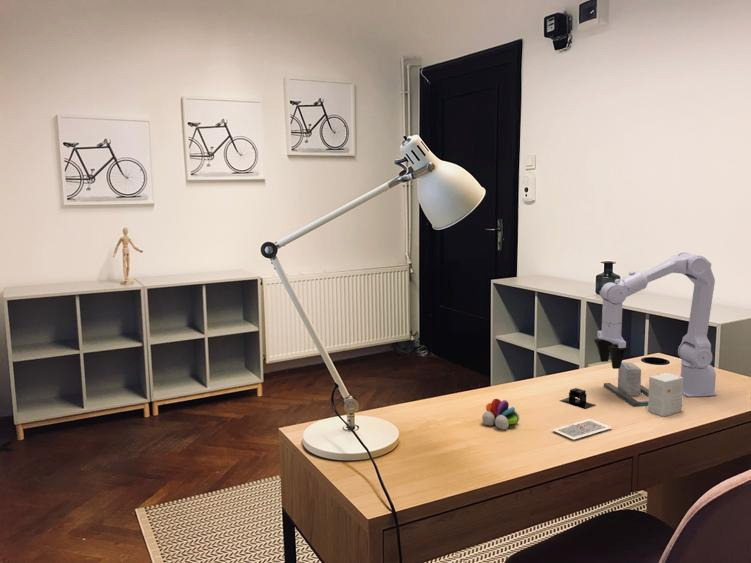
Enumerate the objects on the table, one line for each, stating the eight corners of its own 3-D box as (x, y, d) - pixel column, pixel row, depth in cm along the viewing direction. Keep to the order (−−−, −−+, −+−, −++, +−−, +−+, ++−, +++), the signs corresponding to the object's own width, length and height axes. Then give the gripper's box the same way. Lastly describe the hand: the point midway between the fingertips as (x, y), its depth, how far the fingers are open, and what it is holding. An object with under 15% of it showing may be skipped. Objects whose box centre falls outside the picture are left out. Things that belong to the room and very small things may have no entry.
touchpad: (612, 431, 175) (613, 423, 175) (573, 443, 167) (573, 435, 167) (589, 422, 182) (590, 414, 181) (551, 433, 174) (551, 425, 174)
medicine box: (640, 396, 201) (641, 369, 200) (626, 396, 201) (627, 369, 200) (631, 387, 209) (632, 362, 208) (617, 388, 209) (618, 362, 208)
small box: (665, 406, 192) (667, 372, 190) (682, 412, 187) (684, 377, 185) (646, 411, 188) (648, 376, 187) (663, 417, 183) (665, 381, 182)
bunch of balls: (495, 416, 187) (495, 392, 185) (524, 424, 180) (524, 399, 179) (477, 424, 181) (477, 399, 180) (507, 433, 174) (507, 407, 173)
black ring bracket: (553, 401, 199) (553, 387, 198) (568, 396, 203) (568, 382, 202) (587, 412, 189) (588, 397, 188) (602, 407, 193) (603, 392, 193)
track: (635, 385, 212) (635, 381, 211) (667, 404, 193) (667, 401, 193) (603, 386, 210) (603, 383, 210) (633, 406, 192) (633, 403, 192)
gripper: (588, 317, 205) (587, 359, 207) (610, 327, 191) (609, 372, 193) (610, 316, 206) (608, 357, 208) (633, 326, 191) (631, 371, 194)
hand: (610, 364), depth 200 cm, fingers open, 7 cm apart
